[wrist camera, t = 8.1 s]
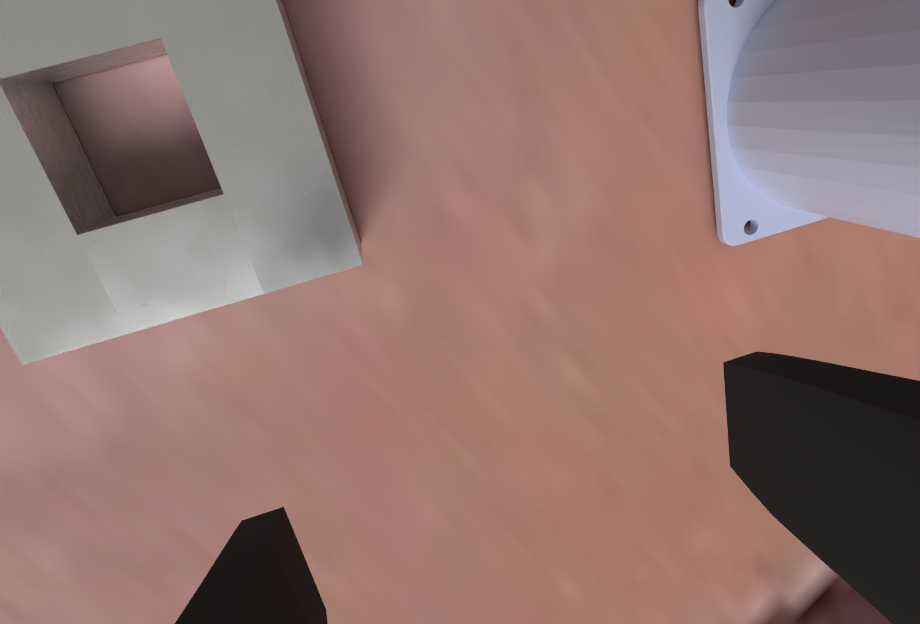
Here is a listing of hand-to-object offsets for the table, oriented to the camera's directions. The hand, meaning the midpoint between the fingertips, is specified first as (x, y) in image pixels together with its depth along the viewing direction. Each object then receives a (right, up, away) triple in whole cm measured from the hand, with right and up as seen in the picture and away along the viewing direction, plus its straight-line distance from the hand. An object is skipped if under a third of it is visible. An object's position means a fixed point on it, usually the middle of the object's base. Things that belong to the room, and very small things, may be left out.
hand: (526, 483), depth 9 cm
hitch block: (-9, +8, +7) cm, 14 cm away
